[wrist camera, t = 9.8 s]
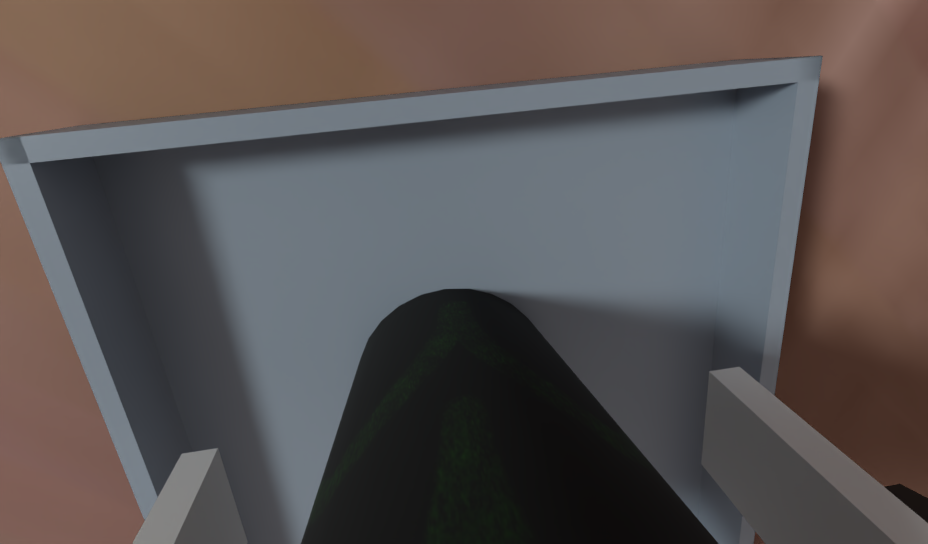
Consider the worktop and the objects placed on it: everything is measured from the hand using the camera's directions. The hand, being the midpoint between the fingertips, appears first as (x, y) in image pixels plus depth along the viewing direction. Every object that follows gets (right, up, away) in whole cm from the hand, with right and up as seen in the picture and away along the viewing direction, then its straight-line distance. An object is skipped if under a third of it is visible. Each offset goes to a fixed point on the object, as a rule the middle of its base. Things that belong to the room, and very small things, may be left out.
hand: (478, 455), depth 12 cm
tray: (0, 0, +5) cm, 5 cm away
